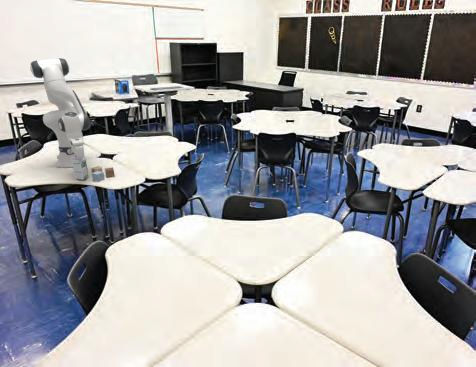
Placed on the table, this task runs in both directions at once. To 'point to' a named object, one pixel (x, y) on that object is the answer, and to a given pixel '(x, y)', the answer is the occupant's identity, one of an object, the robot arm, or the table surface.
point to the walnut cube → (109, 172)
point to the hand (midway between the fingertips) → (79, 161)
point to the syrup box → (80, 168)
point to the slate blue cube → (98, 176)
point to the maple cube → (96, 169)
